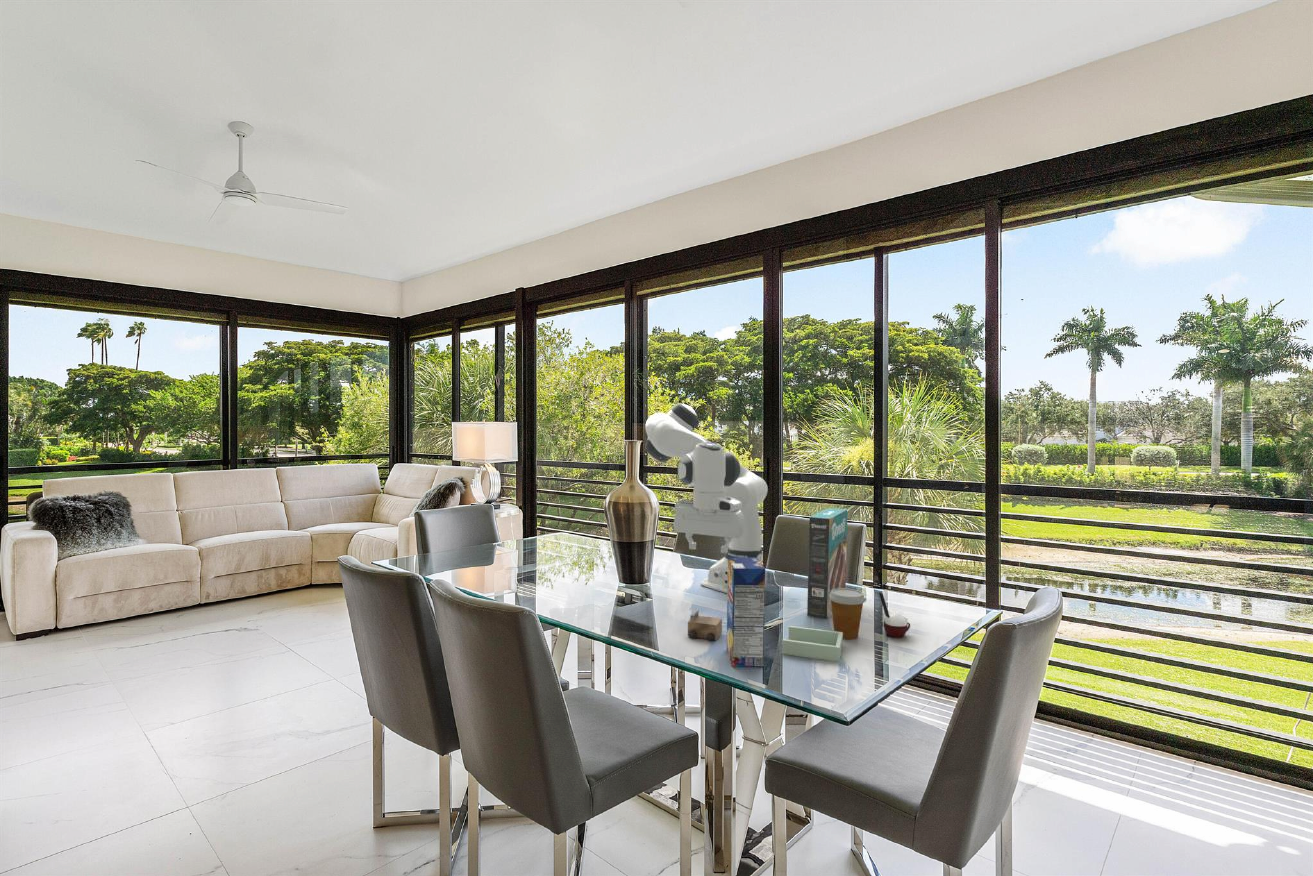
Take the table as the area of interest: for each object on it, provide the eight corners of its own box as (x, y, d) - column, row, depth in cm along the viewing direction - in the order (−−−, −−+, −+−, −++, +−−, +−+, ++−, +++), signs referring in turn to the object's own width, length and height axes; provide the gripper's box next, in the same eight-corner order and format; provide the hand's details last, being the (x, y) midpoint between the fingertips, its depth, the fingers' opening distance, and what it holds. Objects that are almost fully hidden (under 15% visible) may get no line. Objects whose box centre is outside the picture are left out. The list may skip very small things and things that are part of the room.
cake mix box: (827, 619, 194) (829, 518, 193) (807, 615, 197) (809, 516, 196) (845, 600, 213) (847, 509, 212) (826, 597, 216) (829, 507, 215)
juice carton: (726, 649, 168) (728, 557, 167) (755, 649, 168) (757, 557, 167) (732, 667, 156) (734, 568, 155) (763, 668, 156) (765, 568, 155)
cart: (686, 637, 176) (687, 616, 176) (694, 628, 184) (695, 608, 183) (715, 641, 174) (715, 620, 174) (722, 632, 181) (722, 611, 181)
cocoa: (908, 634, 183) (911, 591, 183) (913, 641, 177) (916, 597, 176) (873, 630, 184) (875, 588, 184) (877, 637, 178) (880, 593, 178)
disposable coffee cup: (821, 632, 182) (822, 589, 182) (848, 627, 186) (849, 586, 186) (843, 643, 174) (844, 598, 173) (871, 638, 177) (872, 595, 177)
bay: (782, 653, 166) (782, 640, 166) (789, 638, 177) (789, 625, 177) (839, 661, 161) (839, 647, 161) (842, 645, 172) (842, 632, 172)
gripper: (670, 499, 183) (669, 548, 184) (739, 505, 174) (738, 557, 174) (679, 497, 189) (679, 544, 189) (747, 502, 179) (746, 552, 180)
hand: (708, 550), depth 182 cm, fingers open, 8 cm apart
